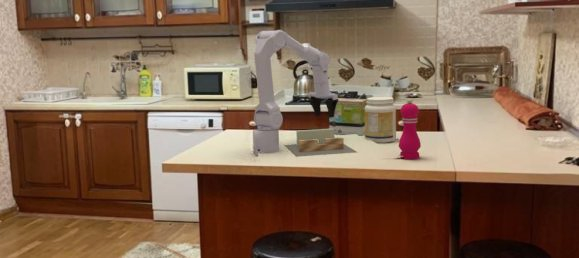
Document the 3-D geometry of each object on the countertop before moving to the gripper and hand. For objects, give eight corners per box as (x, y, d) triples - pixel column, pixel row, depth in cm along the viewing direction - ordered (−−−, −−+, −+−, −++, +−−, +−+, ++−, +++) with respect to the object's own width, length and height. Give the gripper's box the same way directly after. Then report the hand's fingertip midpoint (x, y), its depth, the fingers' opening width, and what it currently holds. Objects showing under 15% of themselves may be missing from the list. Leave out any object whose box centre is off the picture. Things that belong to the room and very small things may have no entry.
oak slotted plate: (300, 152, 202) (299, 140, 201) (299, 151, 203) (298, 140, 203) (343, 149, 205) (343, 138, 204) (342, 148, 206) (342, 137, 206)
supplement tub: (373, 137, 233) (373, 95, 231) (401, 139, 227) (401, 96, 224) (359, 142, 223) (359, 99, 221) (388, 144, 217) (387, 100, 214)
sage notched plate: (297, 147, 211) (297, 131, 210) (296, 146, 212) (296, 130, 211) (334, 144, 213) (334, 129, 212) (333, 144, 215) (332, 128, 214)
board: (296, 159, 195) (296, 156, 194) (283, 147, 217) (283, 144, 217) (357, 155, 199) (357, 152, 198) (339, 143, 221) (339, 141, 221)
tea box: (328, 134, 244) (328, 99, 242) (338, 130, 253) (337, 97, 251) (361, 136, 237) (361, 100, 235) (370, 132, 246) (369, 98, 244)
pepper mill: (405, 154, 197) (405, 97, 194) (424, 156, 192) (424, 97, 189) (394, 158, 191) (394, 99, 188) (414, 160, 187) (414, 100, 183)
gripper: (341, 81, 219) (345, 115, 222) (315, 79, 230) (319, 112, 233) (328, 84, 214) (332, 119, 218) (302, 83, 225) (306, 116, 229)
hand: (324, 116), depth 225 cm, fingers open, 7 cm apart
